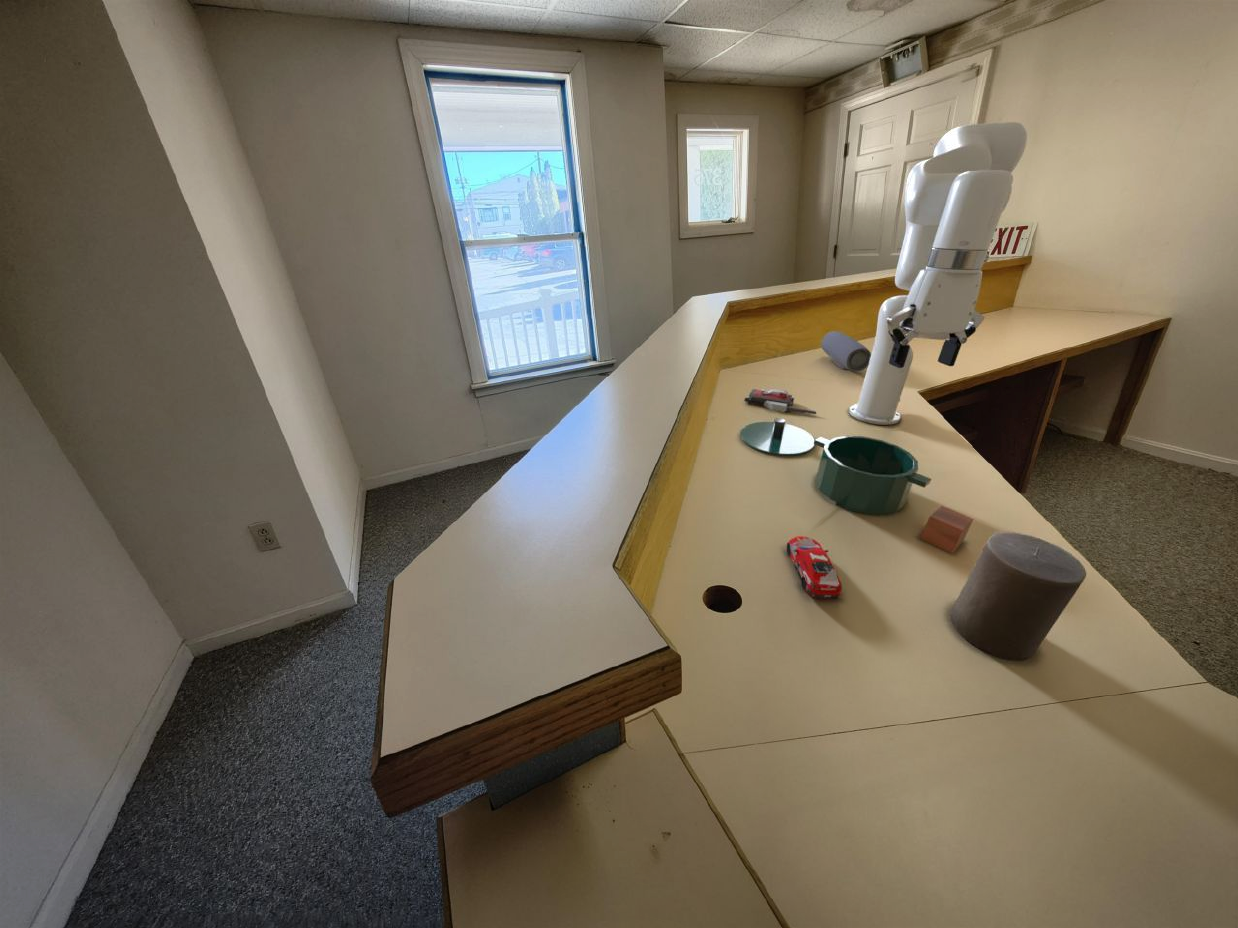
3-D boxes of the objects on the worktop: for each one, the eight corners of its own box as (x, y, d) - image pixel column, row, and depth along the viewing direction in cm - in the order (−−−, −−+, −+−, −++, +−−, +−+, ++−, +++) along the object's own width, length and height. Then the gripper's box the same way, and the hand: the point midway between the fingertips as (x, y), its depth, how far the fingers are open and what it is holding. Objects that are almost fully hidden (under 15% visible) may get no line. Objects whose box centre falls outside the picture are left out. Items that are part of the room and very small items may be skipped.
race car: (782, 544, 79) (786, 526, 77) (814, 545, 79) (819, 526, 77) (805, 601, 68) (811, 582, 66) (843, 603, 67) (849, 583, 65)
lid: (767, 420, 124) (771, 400, 121) (828, 443, 112) (833, 422, 109) (725, 438, 114) (727, 417, 111) (786, 466, 102) (790, 443, 99)
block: (931, 527, 83) (941, 505, 80) (962, 541, 79) (974, 518, 77) (920, 538, 80) (929, 516, 78) (951, 553, 77) (962, 530, 74)
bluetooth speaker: (868, 375, 155) (877, 346, 150) (841, 375, 155) (848, 346, 150) (841, 355, 174) (847, 329, 169) (816, 355, 174) (822, 329, 169)
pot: (829, 457, 105) (838, 424, 101) (932, 500, 90) (948, 463, 86) (788, 481, 96) (795, 446, 92) (895, 533, 81) (910, 493, 77)
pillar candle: (1006, 671, 57) (1064, 585, 50) (933, 616, 65) (974, 534, 58) (1051, 645, 61) (1112, 561, 53) (977, 595, 69) (1020, 515, 61)
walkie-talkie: (741, 406, 132) (814, 419, 124) (743, 392, 129) (818, 404, 122) (748, 396, 138) (817, 407, 131) (750, 382, 136) (821, 393, 129)
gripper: (984, 259, 77) (948, 357, 86) (890, 259, 75) (863, 360, 84) (1023, 263, 71) (980, 369, 79) (922, 264, 69) (889, 373, 77)
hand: (920, 365), depth 81 cm, fingers open, 9 cm apart
